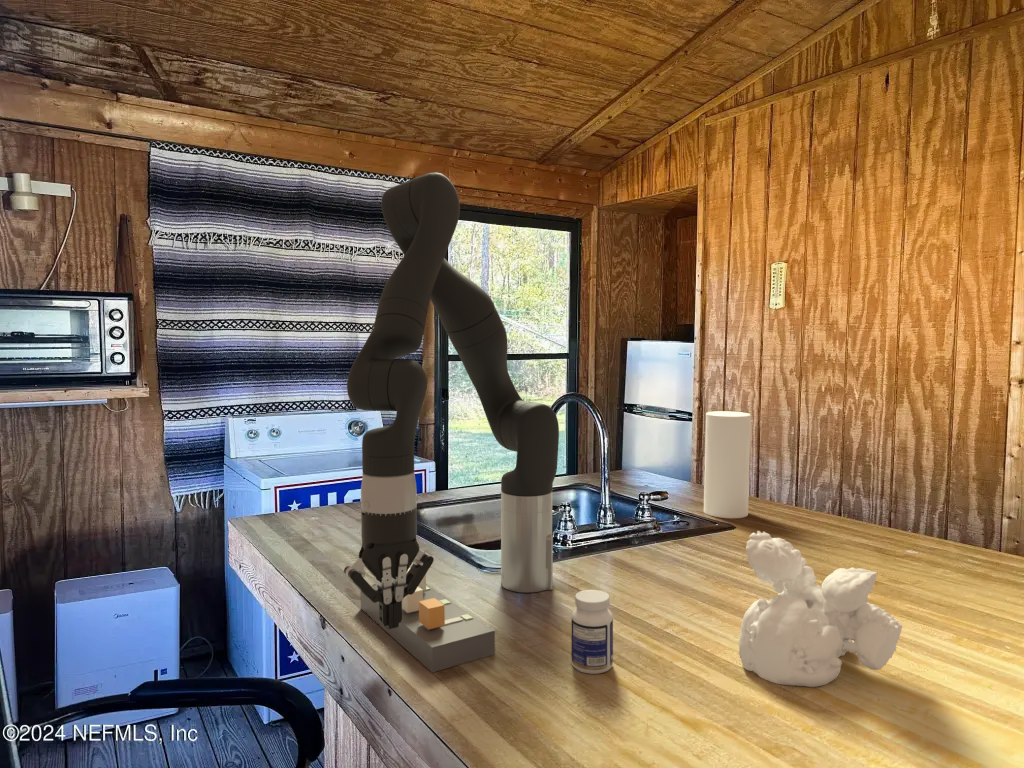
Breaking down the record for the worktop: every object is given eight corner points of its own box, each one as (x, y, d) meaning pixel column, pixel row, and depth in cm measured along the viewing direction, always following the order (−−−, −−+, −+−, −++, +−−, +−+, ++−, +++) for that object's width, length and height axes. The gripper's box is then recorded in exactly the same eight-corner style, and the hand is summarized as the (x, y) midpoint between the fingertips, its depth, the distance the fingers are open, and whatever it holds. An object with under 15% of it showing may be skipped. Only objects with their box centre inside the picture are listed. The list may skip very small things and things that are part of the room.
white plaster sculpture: (693, 606, 98) (767, 510, 107) (729, 697, 107) (795, 601, 116) (829, 663, 83) (900, 546, 93) (857, 763, 92) (920, 648, 102)
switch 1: (412, 592, 116) (411, 574, 116) (403, 586, 119) (403, 568, 118) (426, 589, 117) (426, 571, 117) (417, 583, 120) (417, 566, 120)
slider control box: (347, 597, 125) (347, 576, 124) (401, 586, 130) (401, 566, 130) (432, 672, 98) (432, 646, 98) (494, 654, 103) (494, 629, 103)
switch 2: (407, 612, 108) (407, 593, 108) (398, 605, 111) (398, 586, 110) (423, 609, 109) (422, 589, 109) (413, 602, 112) (413, 583, 112)
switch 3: (428, 629, 102) (428, 608, 102) (419, 621, 105) (418, 601, 105) (444, 625, 103) (444, 605, 103) (434, 617, 106) (434, 597, 106)
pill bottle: (586, 652, 104) (586, 584, 103) (620, 663, 100) (621, 594, 100) (562, 666, 100) (563, 596, 99) (598, 679, 96) (599, 606, 95)
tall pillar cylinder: (719, 505, 188) (722, 410, 186) (756, 513, 180) (759, 414, 178) (694, 511, 182) (697, 413, 180) (731, 520, 173) (734, 417, 171)
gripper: (420, 493, 106) (421, 607, 107) (332, 505, 99) (335, 628, 100) (444, 503, 100) (445, 625, 101) (352, 517, 92) (354, 648, 94)
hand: (390, 626), depth 101 cm, fingers closed
